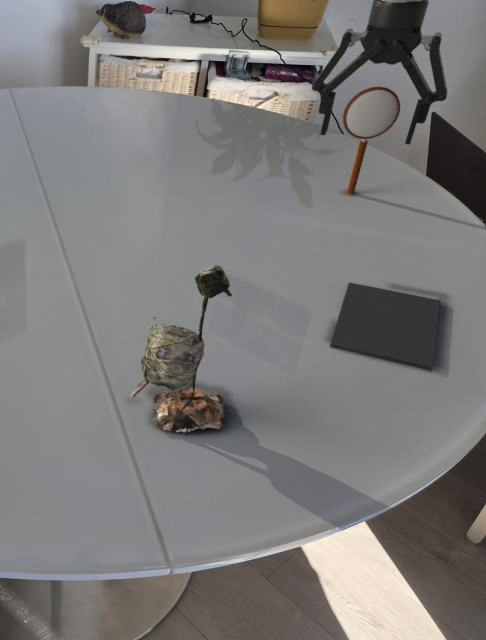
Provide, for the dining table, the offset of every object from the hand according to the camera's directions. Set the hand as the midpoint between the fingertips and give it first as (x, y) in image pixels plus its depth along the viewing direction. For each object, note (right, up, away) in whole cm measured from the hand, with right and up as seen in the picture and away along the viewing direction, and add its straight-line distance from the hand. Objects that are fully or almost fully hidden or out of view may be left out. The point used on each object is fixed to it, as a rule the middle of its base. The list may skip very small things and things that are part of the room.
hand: (364, 136), depth 109 cm
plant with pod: (-39, -44, -31) cm, 67 cm away
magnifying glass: (+1, -9, +7) cm, 12 cm away
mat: (-8, -33, -21) cm, 40 cm away
